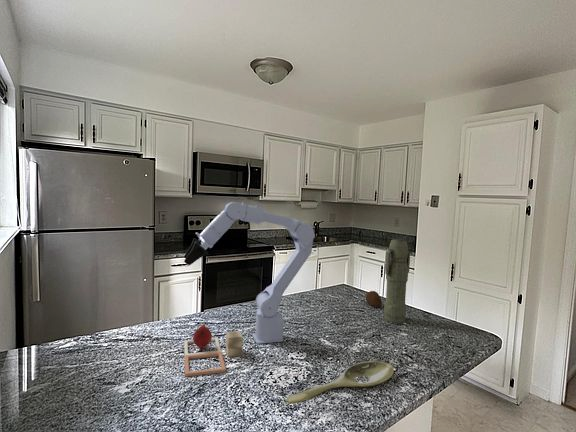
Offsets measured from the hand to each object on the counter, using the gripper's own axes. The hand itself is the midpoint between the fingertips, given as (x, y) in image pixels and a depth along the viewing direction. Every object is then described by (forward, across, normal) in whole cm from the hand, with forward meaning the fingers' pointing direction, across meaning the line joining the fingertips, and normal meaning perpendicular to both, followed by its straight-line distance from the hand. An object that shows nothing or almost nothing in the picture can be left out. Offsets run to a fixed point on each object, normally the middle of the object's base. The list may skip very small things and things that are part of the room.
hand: (186, 261), depth 108 cm
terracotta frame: (+17, +15, +23) cm, 32 cm away
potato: (-37, -26, +86) cm, 97 cm away
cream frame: (+17, +4, +23) cm, 29 cm away
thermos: (-36, -6, +84) cm, 91 cm away
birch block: (+11, +9, +30) cm, 33 cm away
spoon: (-6, +34, +49) cm, 60 cm away
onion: (+18, +4, +23) cm, 29 cm away
